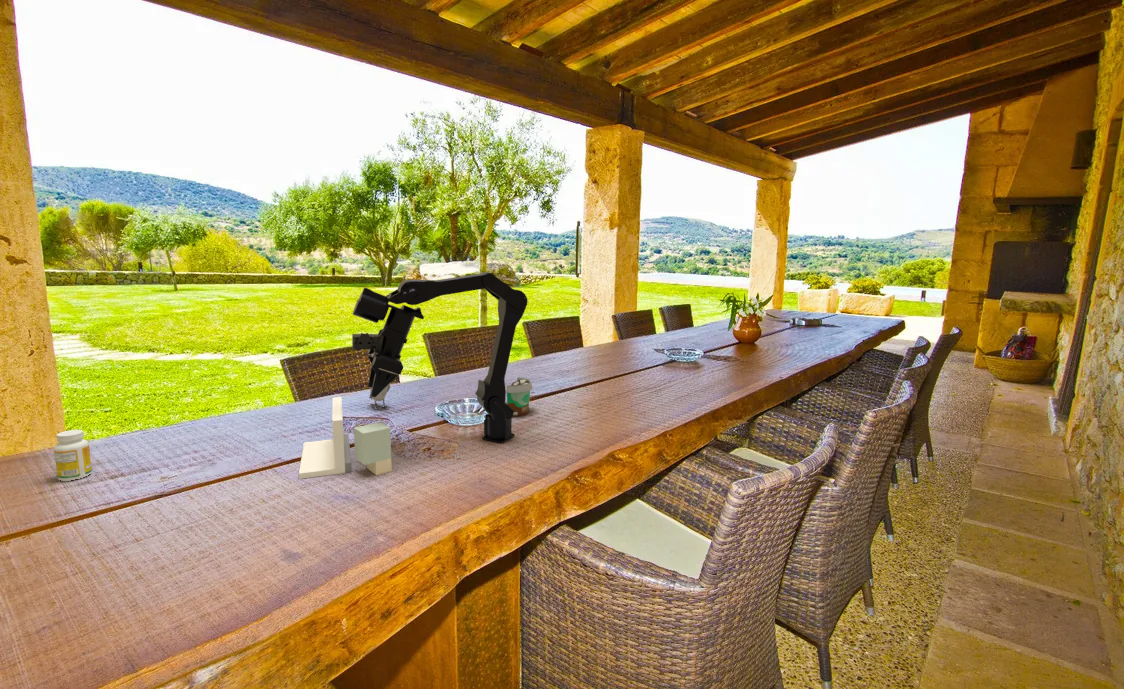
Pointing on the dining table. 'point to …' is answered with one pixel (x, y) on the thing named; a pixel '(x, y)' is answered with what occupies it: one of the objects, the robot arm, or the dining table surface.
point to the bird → (380, 394)
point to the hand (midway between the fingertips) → (371, 391)
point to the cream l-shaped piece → (327, 450)
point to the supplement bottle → (72, 456)
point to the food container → (519, 396)
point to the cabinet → (373, 447)
